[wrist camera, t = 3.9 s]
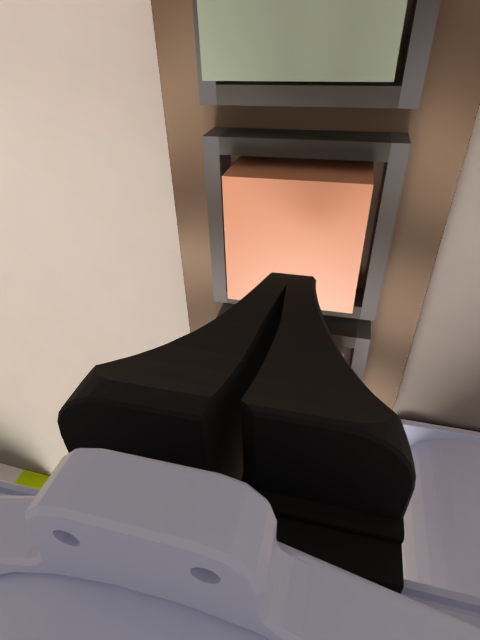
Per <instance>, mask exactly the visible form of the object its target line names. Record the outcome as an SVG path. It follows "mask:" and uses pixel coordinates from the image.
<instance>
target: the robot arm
mask: <svg viewBox="0 0 480 640" xmlns="http://www.w3.org/2000/svg"><path fill="white" fill-rule="evenodd" d="M58 425H59V429H60V433H61V436H62V438H63V440H64V443H65V445H66V447H67V450H68V452H69V454H67V455H66V456H64V457H63V458H62V459H61V461H60V462H59V464H58V465H57V467H56V468H55V470H54V471H53V472H52V474H51V475H50V477H49V478H48V480H47V481H46V483H45V484H44V485H43V487H42V488H41V490H39V489H35V488H31V487H27V486H23V485H19V484H15V483H11V482H7V481H3V480H0V640H480V432H476V431H470V430H464V429H458V428H452V427H446V426H440V425H434V424H429V423H423V422H417V421H411V420H405V419H400V417H399V416H398V415H397V414H396V413H395V412H394V411H393V410H391V409H390V408H389V407H388V406H387V405H386V404H384V403H383V402H382V401H381V400H380V399H379V398H378V397H376V396H375V395H374V394H373V393H372V392H371V391H370V390H369V389H368V388H367V387H366V385H365V384H364V383H363V382H362V381H361V379H360V378H359V377H358V376H357V374H356V373H355V372H354V371H353V369H352V368H351V367H350V366H349V364H348V363H347V361H346V360H345V358H344V357H343V355H342V354H341V352H340V350H339V349H338V347H337V345H336V344H335V342H334V340H333V338H332V336H331V334H330V332H329V330H328V327H327V325H326V323H325V320H324V318H323V315H322V312H321V309H320V306H319V302H318V298H317V293H316V279H315V278H314V277H313V276H304V275H294V274H284V273H274V272H272V273H270V274H269V275H268V276H267V277H266V278H265V279H263V280H262V281H261V282H260V283H259V284H258V285H257V286H256V287H255V288H254V289H253V290H251V291H250V292H249V293H248V294H247V295H246V296H244V297H243V298H242V299H241V300H240V301H238V302H237V303H236V304H235V305H234V306H232V307H231V308H230V309H228V310H227V311H225V312H224V313H223V314H221V315H220V316H219V317H217V318H216V319H214V320H212V321H211V322H209V323H208V324H206V325H204V326H202V327H201V328H199V329H197V330H195V331H193V332H191V333H189V334H187V335H185V336H183V337H181V338H179V339H176V340H174V341H172V342H170V343H168V344H165V345H163V346H160V347H157V348H155V349H152V350H149V351H146V352H143V353H140V354H137V355H134V356H131V357H127V358H123V359H119V360H116V361H112V362H108V363H104V364H100V365H95V367H94V368H93V369H92V370H91V371H90V372H89V373H88V375H87V376H86V377H85V378H84V379H83V381H82V382H81V383H80V385H79V386H78V387H77V388H76V390H75V391H74V392H73V394H72V395H71V396H70V398H69V399H68V400H67V402H66V403H65V404H64V406H63V407H62V408H61V410H60V411H59V415H58Z"/></svg>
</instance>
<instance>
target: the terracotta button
mask: <svg viewBox="0 0 480 640" xmlns="http://www.w3.org/2000/svg"><path fill="white" fill-rule="evenodd" d="M373 185H374V175H373V162H356V161H334V160H312V159H290V158H268V157H246V156H240V157H239V158H238V159H237V160H236V161H235V162H234V163H233V164H232V165H231V167H230V168H229V169H228V170H227V171H226V172H225V173H224V174H223V175H222V191H223V212H224V232H225V253H226V273H227V294H228V299H235V300H241V299H242V298H243V297H244V296H246V295H247V294H248V293H249V292H250V291H251V290H253V289H254V288H255V287H256V286H257V285H258V284H259V283H260V282H261V281H262V280H263V279H265V278H266V277H267V276H268V275H269V274H270V273H272V272H274V273H284V274H294V275H304V276H313V277H314V278H315V279H316V293H317V298H318V302H319V306H320V309H321V310H326V311H334V312H342V313H351V314H352V312H353V306H354V300H355V294H356V288H357V282H358V276H359V270H360V264H361V258H362V252H363V246H364V240H365V233H366V227H367V221H368V215H369V209H370V203H371V197H372V191H373Z"/></svg>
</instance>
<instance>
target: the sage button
mask: <svg viewBox="0 0 480 640" xmlns="http://www.w3.org/2000/svg"><path fill="white" fill-rule="evenodd" d="M407 1H408V0H197V11H198V26H199V41H200V55H201V70H202V81H308V82H394V78H395V72H396V66H397V60H398V54H399V48H400V42H401V36H402V30H403V25H404V19H405V13H406V7H407Z"/></svg>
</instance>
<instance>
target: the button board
mask: <svg viewBox="0 0 480 640" xmlns="http://www.w3.org/2000/svg"><path fill="white" fill-rule="evenodd" d="M151 6H152V14H153V23H154V31H155V40H156V48H157V56H158V65H159V73H160V82H161V90H162V99H163V107H164V115H165V124H166V132H167V141H168V149H169V157H170V166H171V174H172V183H173V191H174V200H175V208H176V216H177V225H178V233H179V242H180V250H181V258H182V267H183V275H184V284H185V292H186V301H187V309H188V317H189V326H190V333H191V332H193V331H195V330H197V329H199V328H201V327H202V326H204V325H206V324H208V323H209V322H211V321H212V320H214V319H216V318H217V317H219V316H220V315H221V314H223V313H224V312H225V311H227V310H228V309H230V308H231V307H232V306H234V305H235V304H236V303H237V302H238V301H240V300H235V299H228V294H227V273H226V253H225V232H224V212H223V191H222V175H223V174H224V173H225V172H226V171H227V170H228V169H229V168H230V167H231V165H232V164H233V163H234V162H235V161H236V160H237V159H238V158H239V157H240V156H246V157H268V158H290V159H312V160H334V161H356V162H373V175H374V185H373V191H372V197H371V203H370V209H369V215H368V221H367V227H366V233H365V240H364V246H363V252H362V258H361V264H360V270H359V276H358V282H357V288H356V294H355V300H354V306H353V312H352V314H351V313H342V312H334V311H326V310H321V312H322V315H323V318H324V320H325V323H326V325H327V327H328V330H329V332H330V334H331V336H332V338H333V340H334V342H335V344H336V345H337V347H338V349H339V350H340V352H341V354H344V358H345V360H346V361H347V363H348V364H349V366H350V367H351V368H352V369H353V371H354V372H355V373H356V374H357V376H358V377H359V378H360V379H361V381H362V382H363V383H364V384H365V385H366V387H367V388H368V389H369V390H370V391H371V392H372V393H373V394H374V395H375V396H376V397H378V398H379V399H380V400H381V401H382V402H383V403H384V404H386V405H387V406H388V407H389V408H390V409H391V410H393V408H394V404H395V401H396V397H397V394H398V390H399V387H400V383H401V380H402V376H403V373H404V369H405V366H406V362H407V359H408V355H409V352H410V348H411V345H412V341H413V337H414V334H415V330H416V327H417V323H418V320H419V316H420V313H421V309H422V306H423V302H424V299H425V295H426V292H427V288H428V285H429V281H430V278H431V274H432V270H433V267H434V263H435V260H436V256H437V253H438V249H439V246H440V242H441V239H442V235H443V232H444V228H445V225H446V221H447V218H448V214H449V211H450V207H451V204H452V200H453V196H454V193H455V189H456V186H457V182H458V179H459V175H460V172H461V168H462V165H463V161H464V158H465V154H466V151H467V147H468V144H469V140H470V137H471V133H472V129H473V126H474V122H475V119H476V115H477V112H478V108H479V105H480V0H408V1H407V7H406V13H405V19H404V25H403V30H402V36H401V42H400V48H399V54H398V60H397V66H396V72H395V78H394V82H308V81H202V70H201V55H200V41H199V26H198V11H197V0H151Z"/></svg>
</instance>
